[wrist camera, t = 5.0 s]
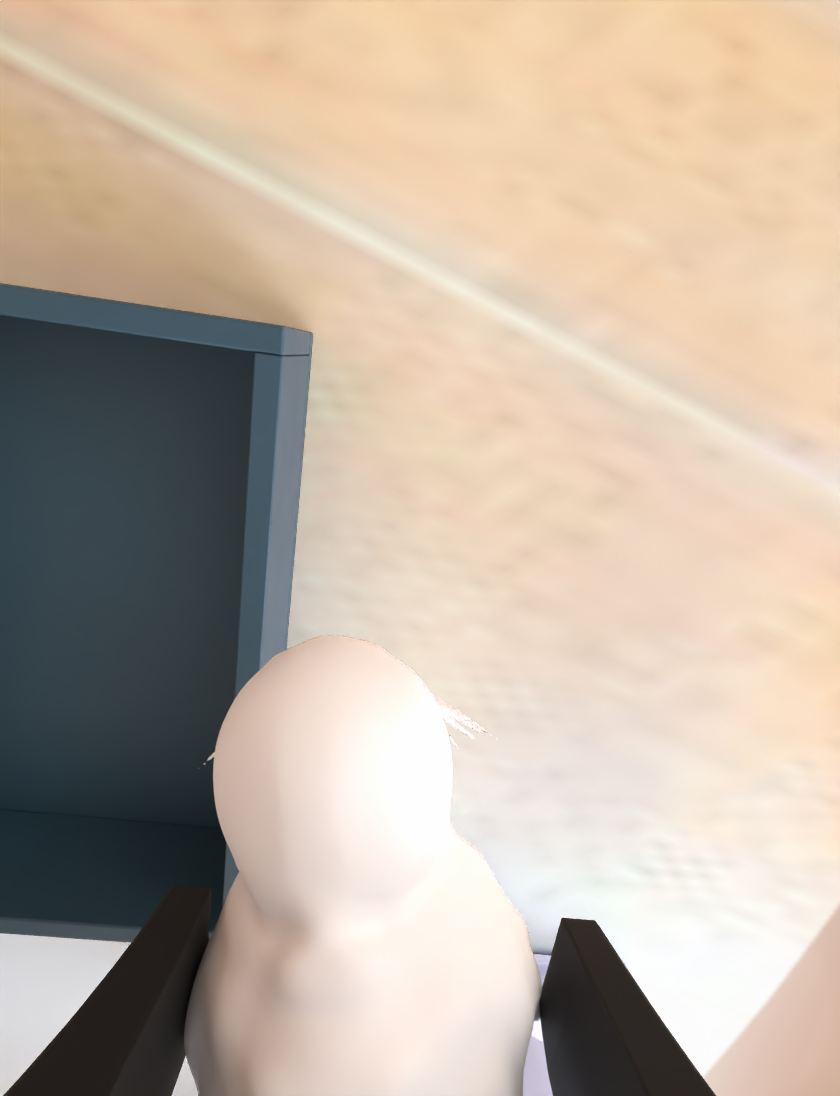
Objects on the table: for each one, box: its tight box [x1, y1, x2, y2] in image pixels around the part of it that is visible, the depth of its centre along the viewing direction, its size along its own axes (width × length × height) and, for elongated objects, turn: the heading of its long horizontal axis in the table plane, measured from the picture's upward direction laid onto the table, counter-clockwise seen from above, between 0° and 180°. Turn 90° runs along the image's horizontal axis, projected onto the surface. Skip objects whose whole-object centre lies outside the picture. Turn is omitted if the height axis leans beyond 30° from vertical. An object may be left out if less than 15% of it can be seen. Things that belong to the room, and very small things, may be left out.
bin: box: [0, 283, 313, 943], centre depth 17 cm, size 17×11×4 cm, turn 172°
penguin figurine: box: [184, 635, 543, 1096], centre depth 10 cm, size 6×8×12 cm
